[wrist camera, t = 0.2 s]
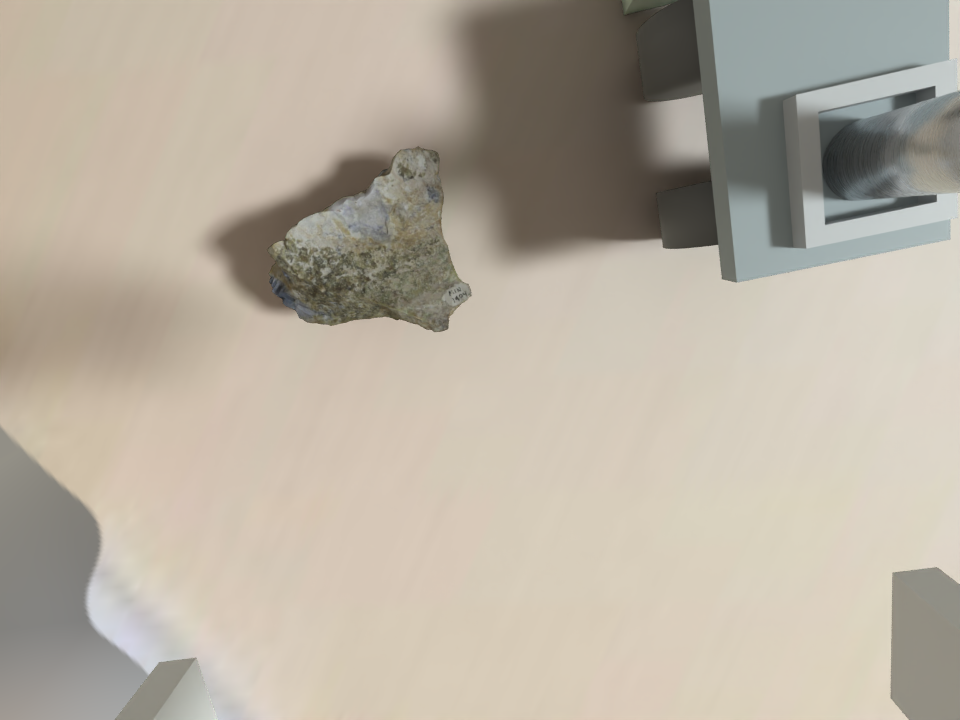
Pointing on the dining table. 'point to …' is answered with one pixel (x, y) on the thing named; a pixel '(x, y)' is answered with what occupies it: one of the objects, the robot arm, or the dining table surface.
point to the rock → (374, 253)
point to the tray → (642, 5)
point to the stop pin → (898, 153)
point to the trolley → (793, 123)
